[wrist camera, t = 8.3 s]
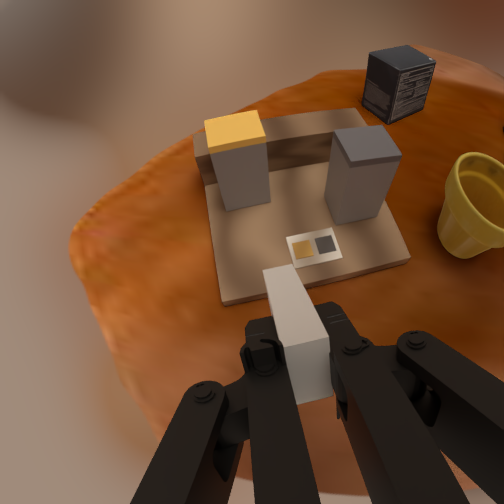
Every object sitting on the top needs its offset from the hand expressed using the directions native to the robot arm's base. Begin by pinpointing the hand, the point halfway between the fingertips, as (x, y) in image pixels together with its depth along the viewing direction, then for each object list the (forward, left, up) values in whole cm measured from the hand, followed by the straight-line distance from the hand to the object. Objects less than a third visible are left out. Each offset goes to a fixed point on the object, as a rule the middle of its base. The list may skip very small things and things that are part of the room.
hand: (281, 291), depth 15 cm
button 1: (-11, -12, -13) cm, 21 cm away
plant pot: (-24, -6, -15) cm, 29 cm away
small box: (-27, -31, -15) cm, 44 cm away
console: (-5, -14, -14) cm, 21 cm away
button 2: (0, -17, -13) cm, 21 cm away
